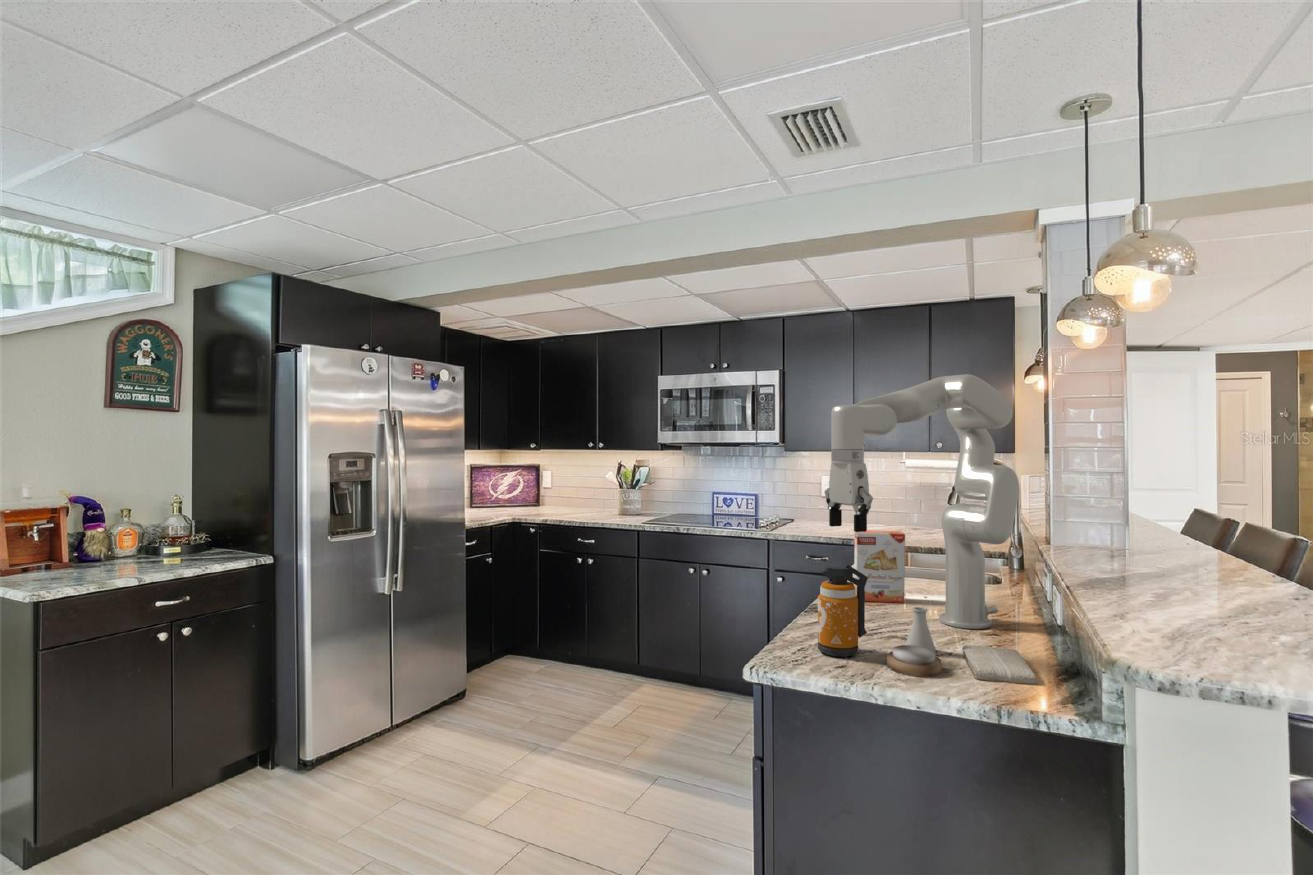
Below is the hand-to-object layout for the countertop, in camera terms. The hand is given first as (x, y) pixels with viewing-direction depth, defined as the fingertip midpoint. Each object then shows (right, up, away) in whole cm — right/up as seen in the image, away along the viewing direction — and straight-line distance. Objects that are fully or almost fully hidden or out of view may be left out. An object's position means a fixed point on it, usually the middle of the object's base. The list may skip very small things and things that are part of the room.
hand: (847, 528), depth 160 cm
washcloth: (+28, -29, -16) cm, 43 cm away
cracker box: (+22, -28, +43) cm, 55 cm away
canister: (-3, -28, -5) cm, 29 cm away
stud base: (+10, -28, -15) cm, 33 cm away
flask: (+15, -28, -5) cm, 32 cm away
